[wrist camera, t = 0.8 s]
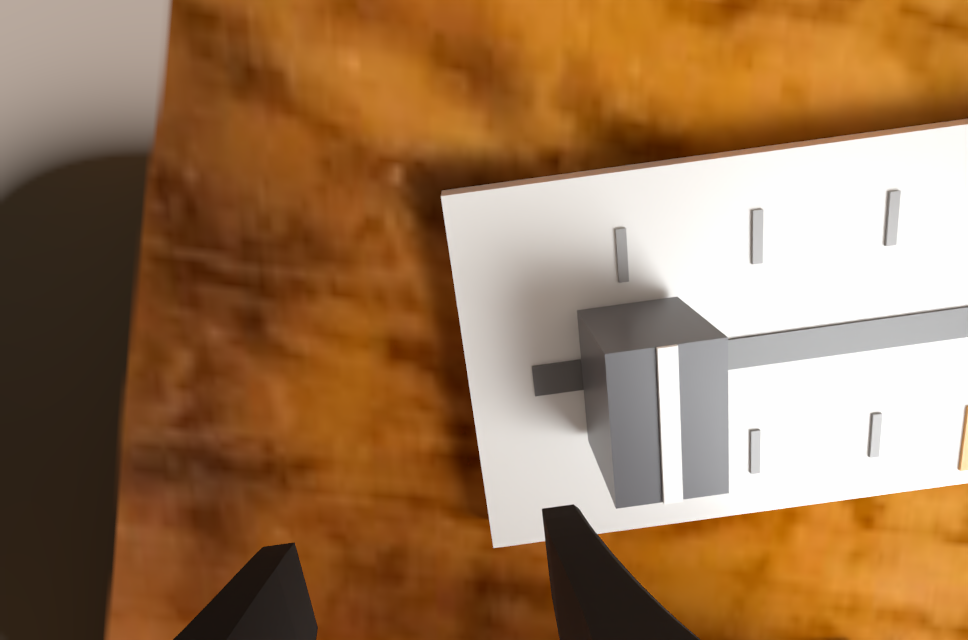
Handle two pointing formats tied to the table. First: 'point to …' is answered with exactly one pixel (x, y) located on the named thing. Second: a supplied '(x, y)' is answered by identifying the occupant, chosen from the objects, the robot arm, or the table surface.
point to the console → (729, 317)
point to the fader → (656, 401)
